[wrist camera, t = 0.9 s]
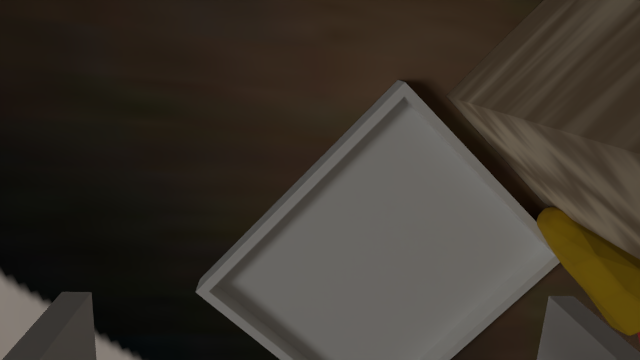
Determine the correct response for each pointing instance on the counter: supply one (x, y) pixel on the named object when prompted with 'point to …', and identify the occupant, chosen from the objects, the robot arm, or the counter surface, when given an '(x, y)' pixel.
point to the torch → (596, 268)
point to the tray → (382, 247)
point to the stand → (568, 110)
